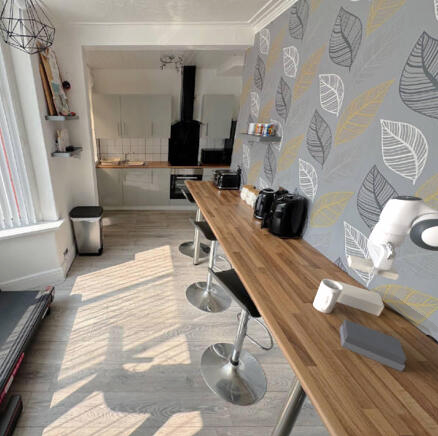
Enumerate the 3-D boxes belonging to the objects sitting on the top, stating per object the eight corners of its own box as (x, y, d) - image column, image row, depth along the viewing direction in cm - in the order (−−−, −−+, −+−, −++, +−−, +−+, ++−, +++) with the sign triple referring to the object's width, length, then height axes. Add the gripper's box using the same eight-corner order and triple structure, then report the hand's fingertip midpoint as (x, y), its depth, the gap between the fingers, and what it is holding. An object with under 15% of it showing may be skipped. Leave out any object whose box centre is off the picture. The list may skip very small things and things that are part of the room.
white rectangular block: (374, 302, 100) (379, 293, 98) (378, 316, 93) (384, 306, 91) (331, 288, 108) (335, 280, 106) (332, 300, 101) (337, 291, 99)
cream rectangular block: (391, 271, 93) (394, 266, 92) (396, 280, 88) (399, 274, 87) (347, 259, 99) (349, 254, 98) (349, 267, 94) (351, 261, 93)
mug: (312, 299, 101) (321, 276, 96) (331, 305, 98) (341, 282, 93) (312, 314, 93) (322, 290, 88) (333, 322, 90) (344, 297, 85)
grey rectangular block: (393, 350, 80) (400, 339, 78) (401, 371, 73) (409, 361, 71) (339, 328, 87) (344, 318, 85) (341, 346, 80) (347, 336, 78)
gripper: (406, 252, 78) (388, 285, 84) (391, 230, 94) (376, 259, 99) (381, 246, 81) (365, 278, 87) (370, 225, 97) (357, 254, 103)
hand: (371, 268), depth 93 cm, fingers closed on cream rectangular block, 6 cm apart
